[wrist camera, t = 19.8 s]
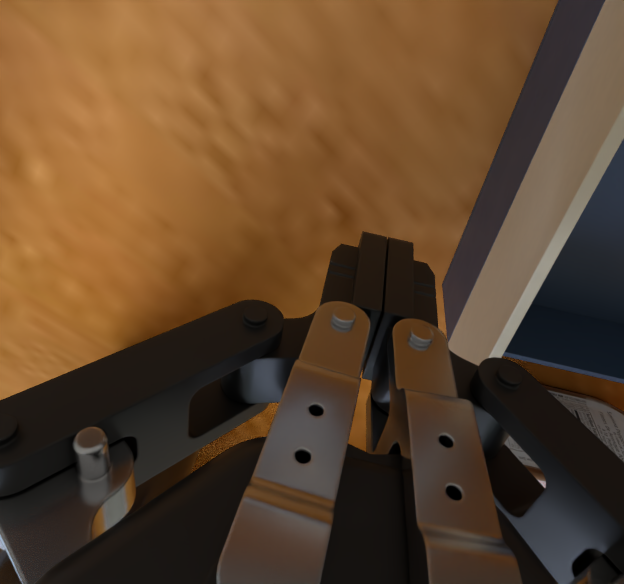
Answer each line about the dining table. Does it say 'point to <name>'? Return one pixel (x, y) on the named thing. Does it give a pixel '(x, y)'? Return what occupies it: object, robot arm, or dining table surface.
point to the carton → (581, 242)
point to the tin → (593, 414)
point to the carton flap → (550, 193)
